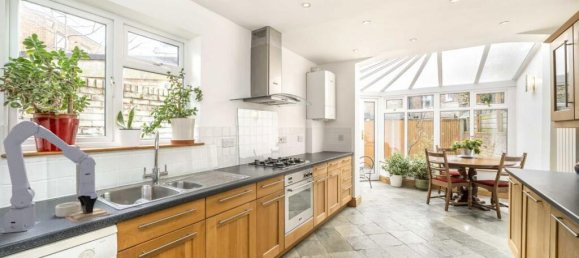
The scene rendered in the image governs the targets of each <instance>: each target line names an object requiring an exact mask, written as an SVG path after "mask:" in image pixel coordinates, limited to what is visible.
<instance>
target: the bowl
mask: <svg viewBox="0 0 579 258" xmlns="http://www.w3.org/2000/svg"><path fill="white" fill-rule="evenodd" d="M81 210H82V205H81V203H80V202H77V201H69V202H63V203H59V204H57V205H55V210H54V211H55V214H54V215H55V217H60V218H61V217H63V216H69V214H72V213H76V212H80V211H81ZM63 218H64V217H63Z"/></svg>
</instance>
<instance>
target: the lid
mask: <svg viewBox="0 0 579 258" xmlns="http://www.w3.org/2000/svg"><path fill="white" fill-rule="evenodd" d="M98 208H99V207H93V211H92V212H89V213H87V212H86V209H85V205H84V206H83V209H82V211H80V212H76V213H72V214H69V216H70V217H72V218H74V219H76V220H78V221H79V220H83V219H87V218H90V217H94V216H98V215H102V214H106V213H107V212H106V211H107V210H105V209H102V208H100V209H98ZM101 209H102V210H101ZM104 210H105V211H104ZM106 215H107V214H106ZM102 216H103V215H102ZM87 220H88V219H87ZM83 221H84V220H83ZM79 222H80V221H79Z"/></svg>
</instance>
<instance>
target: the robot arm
mask: <svg viewBox="0 0 579 258" xmlns="http://www.w3.org/2000/svg"><path fill="white" fill-rule="evenodd" d="M33 136H35V138H38V139H44V140H46V141H48V142H49V143H50V144H53V146H56V147H57V148H58V149H60V150H61V151H62V155H63V156H64V157H66V158H67V159H68V160H70V161H71V162H72V163H74V164H75V165H76V164H79V166H80V174H79V178H80V190H79V195H82V196H79V197H77V196H76V199H77V198H78V199H79V201H80V203H81V210H83V206H84V205H85V209H86V212H87V213H89V212H92V211H93V208H95V207H94V206H95V203H96V201H97V199H98V196H97V193H98V192H99V190H98V189H96V172H94V170H95V171H96V161H95V159H94V158H93V156H91V155H90V154H89V153H85V152H84V151H83V150H82V149H81V147H80V146H78V145H77V146H76V145H75V144H71V145H69V144H68V143H66V142H65V141H64V140H63V139H61V138H60V137H58V135H56V134H55V133H53V132H52V131H51V130H49V129H47V128H46V127H44V126H42V125H39V124H38V123H36V122H35V121H32V120H23V121H21V122H19V123H17V124H15V125H14V126H12V128H11V129H10V131H9V133H7V135H6V137H5V138H4V140H3V147H4V152H5V153H4V154H5V157H6V158H5V159H6V161H7V162H6V163H7V167H8V172H9V177H10V183H11V197H10V198H9V199H10V200H9V202H10V206H9V211H8V212H6V213H5V214H4V216H3V230H2V231H1V232H0V233H1V234H7V233H8V234H9V233H17V232H26V231H28V230H30V229H31V228H34V227H35V226H37V225H39V224H40V223H42V221H36V218H37V217H36V202H35V201H34V200H33V199H34V198H35V194H36V193H35V191H34V189H32V188H31V184H30V182H29V178H28V173H27V169H26V164H25V163H26V162H25V159H24V158H25V157H24V152H23V148H22V144H23V143H25V141H27V140H28V139H29V138H31V137H33ZM94 167H95V168H94Z"/></svg>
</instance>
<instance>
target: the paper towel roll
mask: <svg viewBox="0 0 579 258" xmlns="http://www.w3.org/2000/svg"><path fill="white" fill-rule="evenodd" d="M94 168H95V170H94V172H95V171H96V166H95V167H94ZM95 173H96V172H95ZM79 174H80V166H79V164H76V163H75V178H76V179H75V180H76V184H75V186H76V187H75V188H76V189H75V190H76V192H75V193H76V194H75V195H76V202H80V201H79V199H78V198H77V197H79V196H82V195H79V190H80V178H79Z"/></svg>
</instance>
